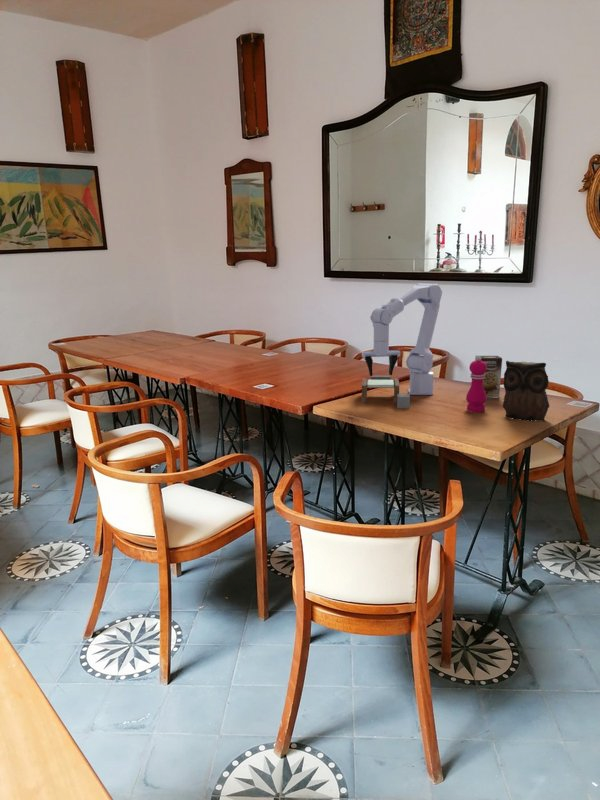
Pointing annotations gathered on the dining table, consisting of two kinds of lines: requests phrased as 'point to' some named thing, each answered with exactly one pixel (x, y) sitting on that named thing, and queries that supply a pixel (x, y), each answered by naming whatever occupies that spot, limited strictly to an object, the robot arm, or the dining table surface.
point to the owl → (525, 390)
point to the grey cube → (403, 401)
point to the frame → (365, 386)
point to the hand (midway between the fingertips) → (380, 375)
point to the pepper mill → (477, 386)
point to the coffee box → (492, 375)
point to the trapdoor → (381, 381)
